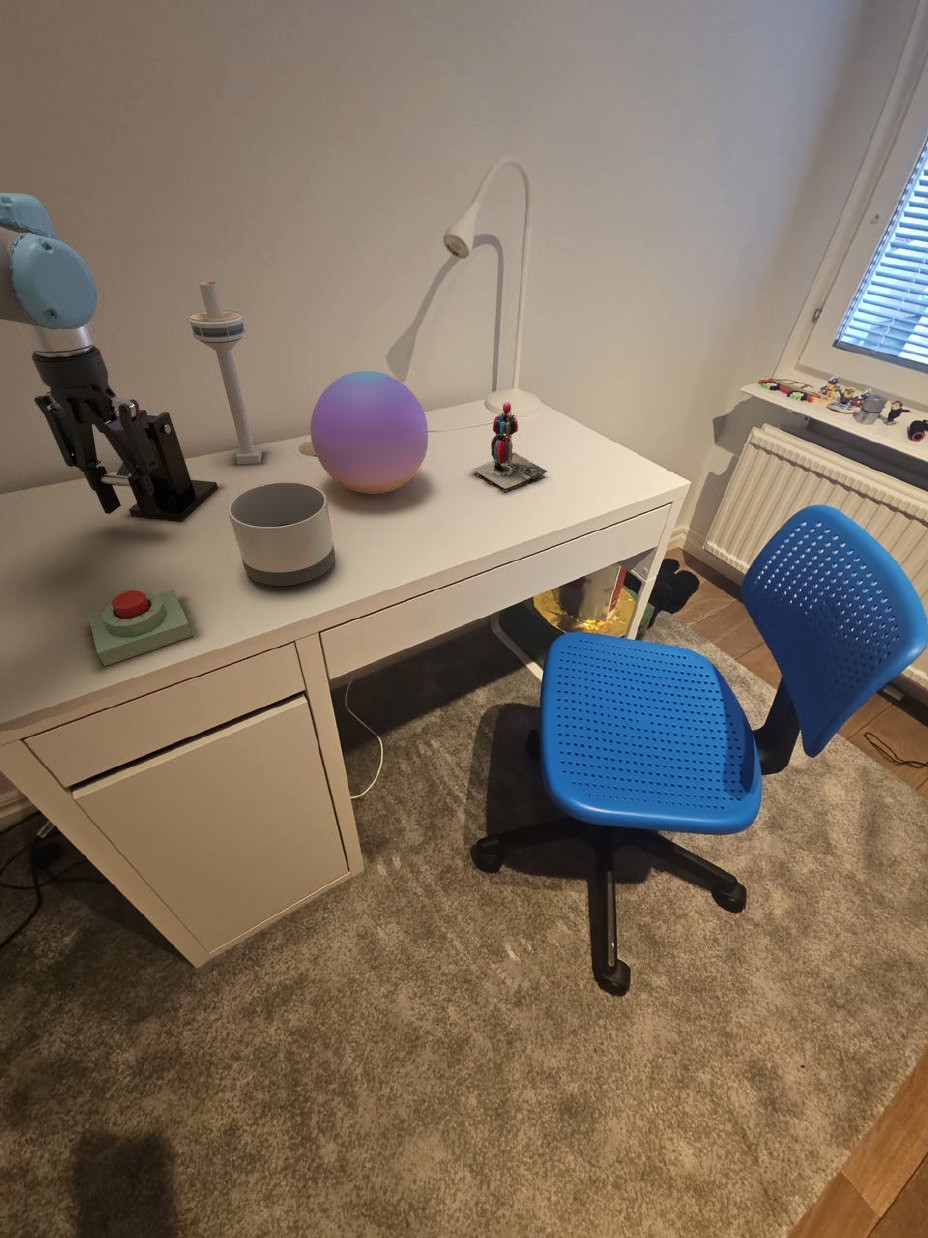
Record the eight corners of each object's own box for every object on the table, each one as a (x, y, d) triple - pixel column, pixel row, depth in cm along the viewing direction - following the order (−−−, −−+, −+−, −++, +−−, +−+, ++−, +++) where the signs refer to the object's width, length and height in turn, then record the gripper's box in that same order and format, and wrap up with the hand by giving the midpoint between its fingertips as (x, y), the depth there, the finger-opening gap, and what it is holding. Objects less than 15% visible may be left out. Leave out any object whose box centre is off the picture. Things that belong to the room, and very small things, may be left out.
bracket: (181, 521, 88) (150, 433, 79) (131, 515, 89) (93, 427, 80) (218, 488, 97) (193, 405, 88) (171, 483, 98) (142, 400, 89)
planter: (244, 550, 83) (227, 487, 76) (329, 537, 86) (319, 476, 79) (248, 600, 73) (228, 534, 67) (342, 584, 77) (333, 520, 70)
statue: (505, 498, 100) (505, 421, 90) (473, 478, 106) (469, 403, 95) (547, 476, 105) (552, 400, 94) (514, 458, 110) (515, 384, 99)
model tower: (230, 451, 109) (184, 278, 89) (273, 449, 110) (237, 278, 91) (224, 469, 103) (174, 288, 83) (270, 467, 104) (231, 288, 85)
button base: (104, 666, 63) (90, 641, 61) (95, 628, 68) (81, 603, 66) (193, 636, 68) (183, 611, 65) (178, 602, 73) (169, 578, 70)
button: (119, 623, 64) (114, 612, 63) (114, 607, 66) (109, 596, 65) (152, 613, 65) (147, 602, 64) (146, 597, 68) (141, 586, 67)
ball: (451, 488, 100) (453, 375, 87) (368, 527, 89) (356, 404, 76) (380, 455, 110) (372, 349, 97) (297, 487, 98) (275, 371, 85)
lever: (138, 491, 80) (129, 480, 78) (104, 487, 81) (94, 476, 79) (173, 428, 86) (166, 416, 84) (142, 425, 87) (133, 413, 85)
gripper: (150, 346, 70) (201, 506, 85) (20, 335, 72) (93, 494, 87) (112, 362, 64) (174, 530, 79) (-27, 350, 66) (59, 517, 81)
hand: (131, 511), depth 83 cm, fingers closed on lever, 5 cm apart
